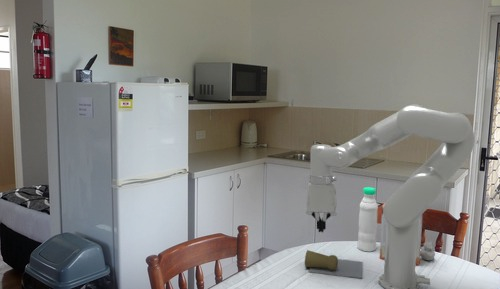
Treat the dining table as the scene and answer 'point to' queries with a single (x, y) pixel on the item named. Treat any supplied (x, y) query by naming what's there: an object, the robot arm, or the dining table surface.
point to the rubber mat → (342, 269)
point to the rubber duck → (427, 251)
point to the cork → (320, 260)
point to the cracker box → (383, 238)
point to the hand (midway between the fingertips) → (321, 230)
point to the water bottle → (367, 221)
